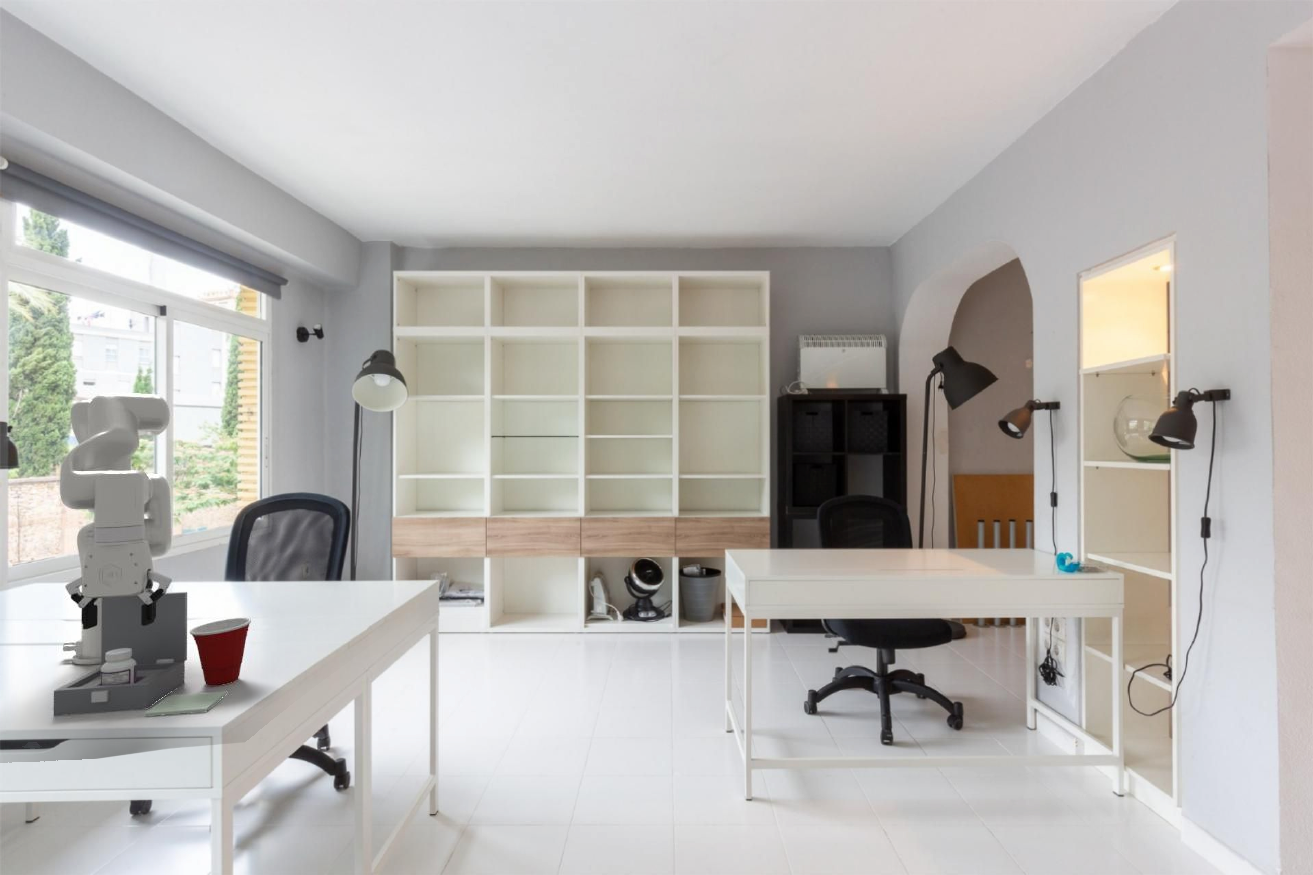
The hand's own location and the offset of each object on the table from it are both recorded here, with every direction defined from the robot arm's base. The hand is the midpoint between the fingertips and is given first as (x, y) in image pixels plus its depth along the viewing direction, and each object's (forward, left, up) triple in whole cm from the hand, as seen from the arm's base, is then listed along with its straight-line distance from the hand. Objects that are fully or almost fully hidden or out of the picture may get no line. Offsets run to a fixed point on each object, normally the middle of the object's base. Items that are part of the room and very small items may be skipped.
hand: (119, 625), depth 128 cm
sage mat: (+14, -4, -14) cm, 20 cm away
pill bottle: (0, +1, -15) cm, 15 cm away
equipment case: (0, +2, -15) cm, 15 cm away
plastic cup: (+14, +9, -15) cm, 22 cm away
